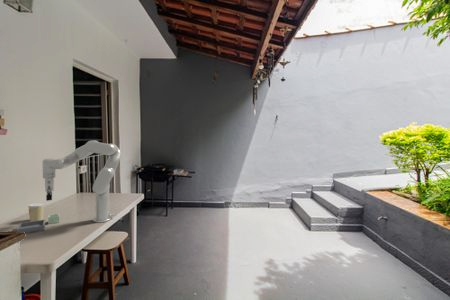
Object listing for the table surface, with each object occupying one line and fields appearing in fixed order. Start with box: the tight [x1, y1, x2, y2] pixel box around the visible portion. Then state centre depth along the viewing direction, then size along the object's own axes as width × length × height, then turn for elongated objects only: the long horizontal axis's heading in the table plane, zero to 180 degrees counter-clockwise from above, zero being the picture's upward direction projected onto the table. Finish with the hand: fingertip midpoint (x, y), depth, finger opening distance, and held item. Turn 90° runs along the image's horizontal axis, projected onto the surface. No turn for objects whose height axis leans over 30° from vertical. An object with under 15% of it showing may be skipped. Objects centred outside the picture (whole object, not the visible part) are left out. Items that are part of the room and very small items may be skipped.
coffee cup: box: [28, 202, 45, 222], centre depth 180 cm, size 9×9×12 cm
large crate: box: [16, 219, 46, 234], centre depth 163 cm, size 14×14×4 cm
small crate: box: [47, 213, 60, 225], centre depth 177 cm, size 6×6×5 cm
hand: (49, 198), depth 173 cm, fingers open, 9 cm apart
